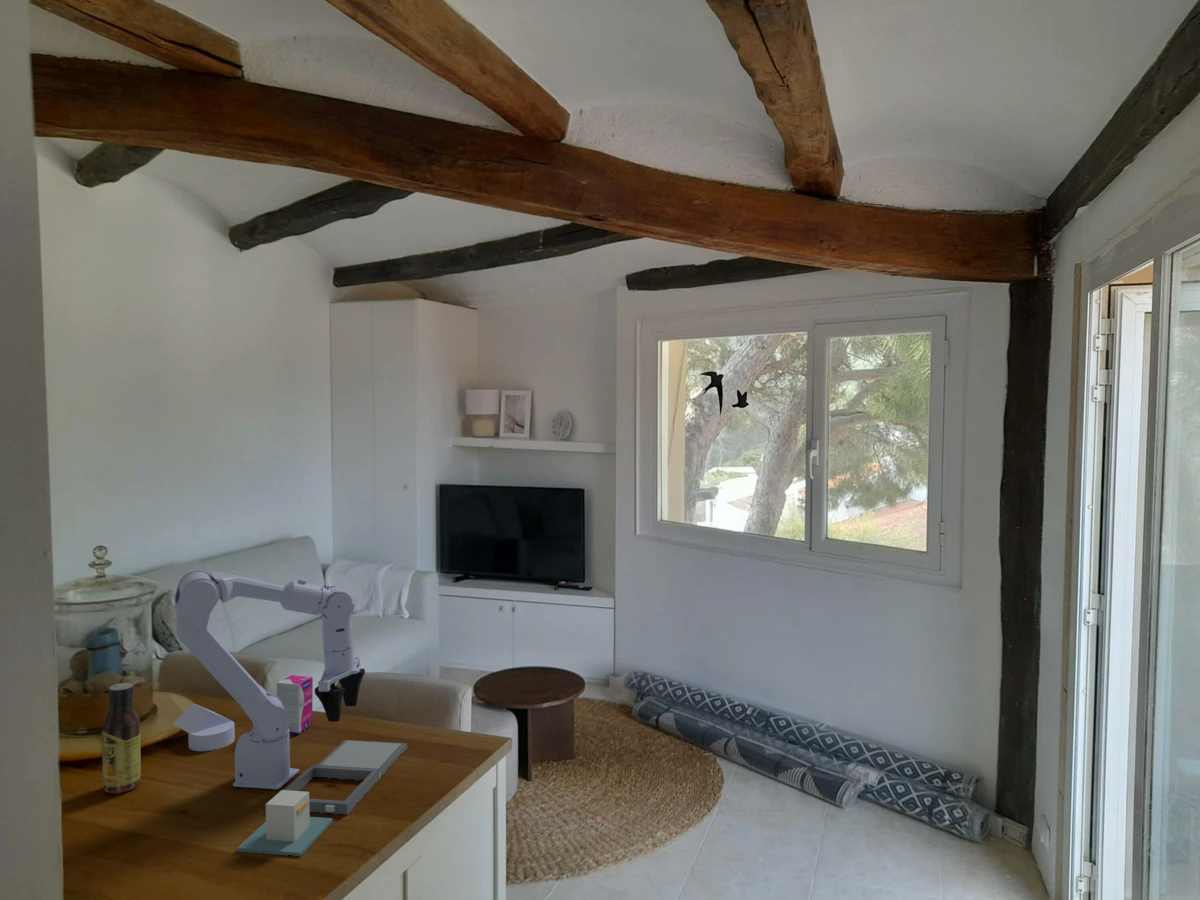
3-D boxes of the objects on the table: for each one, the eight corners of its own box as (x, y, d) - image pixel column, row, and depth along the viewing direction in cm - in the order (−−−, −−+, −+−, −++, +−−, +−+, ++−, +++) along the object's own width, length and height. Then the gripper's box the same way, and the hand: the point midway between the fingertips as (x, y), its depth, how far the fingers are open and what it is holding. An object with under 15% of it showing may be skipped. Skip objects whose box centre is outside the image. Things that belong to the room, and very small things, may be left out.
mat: (237, 851, 128) (237, 847, 128) (273, 817, 139) (273, 814, 139) (300, 856, 127) (300, 852, 127) (332, 821, 138) (332, 818, 138)
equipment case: (271, 811, 141) (271, 800, 141) (345, 744, 170) (344, 735, 170) (345, 816, 139) (345, 805, 139) (407, 748, 168) (407, 738, 168)
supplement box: (299, 735, 175) (298, 684, 175) (275, 733, 176) (274, 682, 176) (313, 725, 181) (313, 676, 180) (290, 723, 182) (289, 674, 181)
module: (266, 839, 131) (265, 804, 131) (282, 824, 136) (281, 789, 136) (295, 841, 130) (295, 806, 130) (310, 826, 135) (310, 791, 135)
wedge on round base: (172, 739, 173) (200, 754, 165) (172, 708, 173) (199, 723, 165) (214, 726, 180) (242, 741, 172) (213, 697, 180) (241, 710, 172)
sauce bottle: (98, 788, 150) (95, 685, 149) (134, 777, 155) (132, 677, 154) (109, 799, 146) (106, 693, 145) (146, 788, 150) (143, 685, 149)
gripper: (340, 659, 152) (345, 728, 153) (372, 636, 166) (376, 699, 167) (306, 659, 153) (311, 727, 154) (340, 636, 167) (344, 699, 168)
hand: (342, 713), depth 160 cm, fingers open, 7 cm apart
